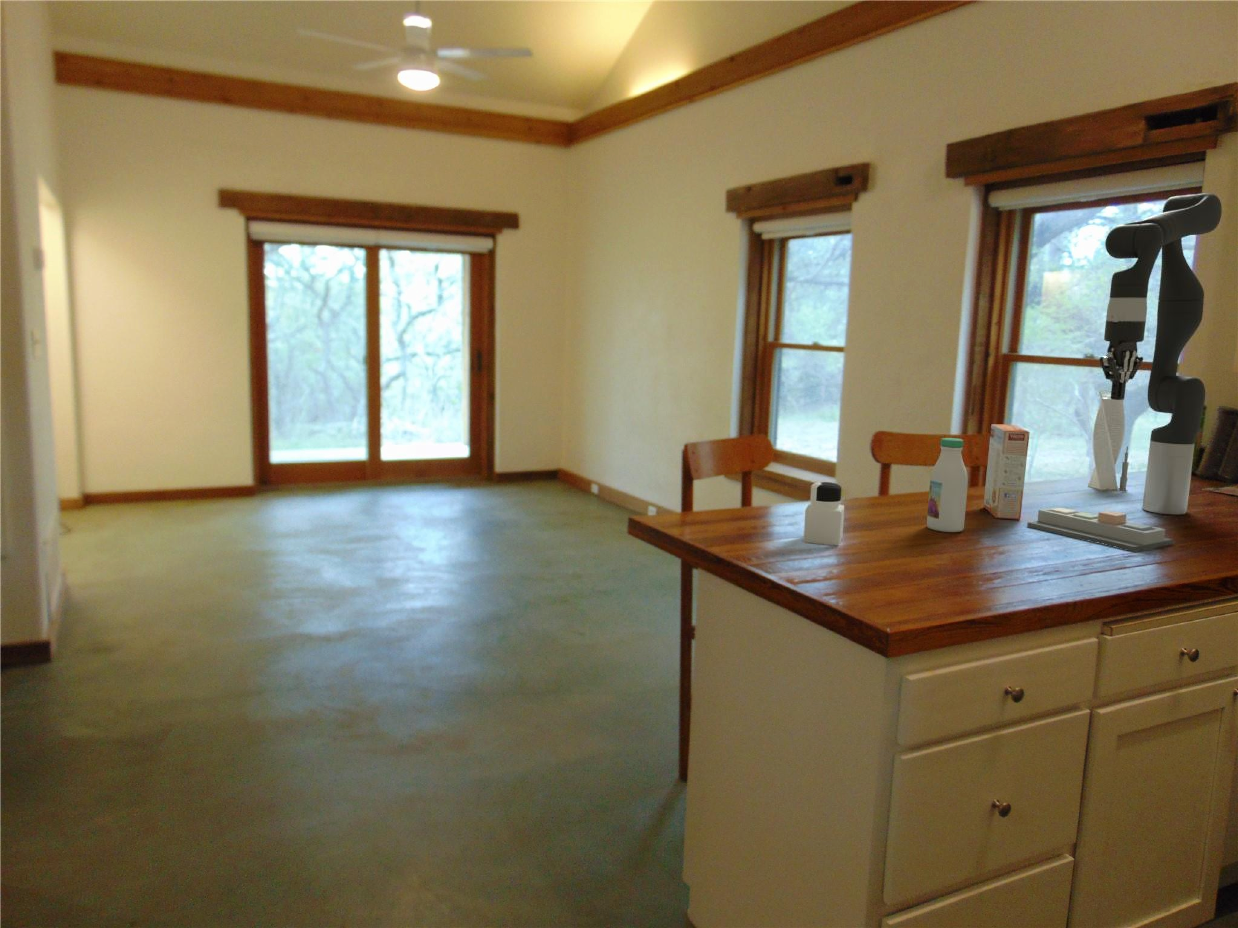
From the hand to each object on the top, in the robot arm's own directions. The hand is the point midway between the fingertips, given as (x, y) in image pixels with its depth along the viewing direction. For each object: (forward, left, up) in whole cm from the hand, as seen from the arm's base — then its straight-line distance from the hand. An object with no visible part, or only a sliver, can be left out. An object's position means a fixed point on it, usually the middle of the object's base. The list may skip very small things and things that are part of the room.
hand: (1117, 399), depth 193 cm
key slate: (+8, +12, -28) cm, 31 cm away
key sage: (+8, +1, -28) cm, 29 cm away
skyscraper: (-48, -29, -29) cm, 63 cm away
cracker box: (+8, -20, -29) cm, 36 cm away
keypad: (+8, +4, -29) cm, 30 cm away
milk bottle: (+34, -15, -29) cm, 47 cm away
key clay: (+8, +6, -26) cm, 28 cm away
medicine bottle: (+66, -19, -29) cm, 75 cm away
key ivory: (+8, -5, -28) cm, 29 cm away
